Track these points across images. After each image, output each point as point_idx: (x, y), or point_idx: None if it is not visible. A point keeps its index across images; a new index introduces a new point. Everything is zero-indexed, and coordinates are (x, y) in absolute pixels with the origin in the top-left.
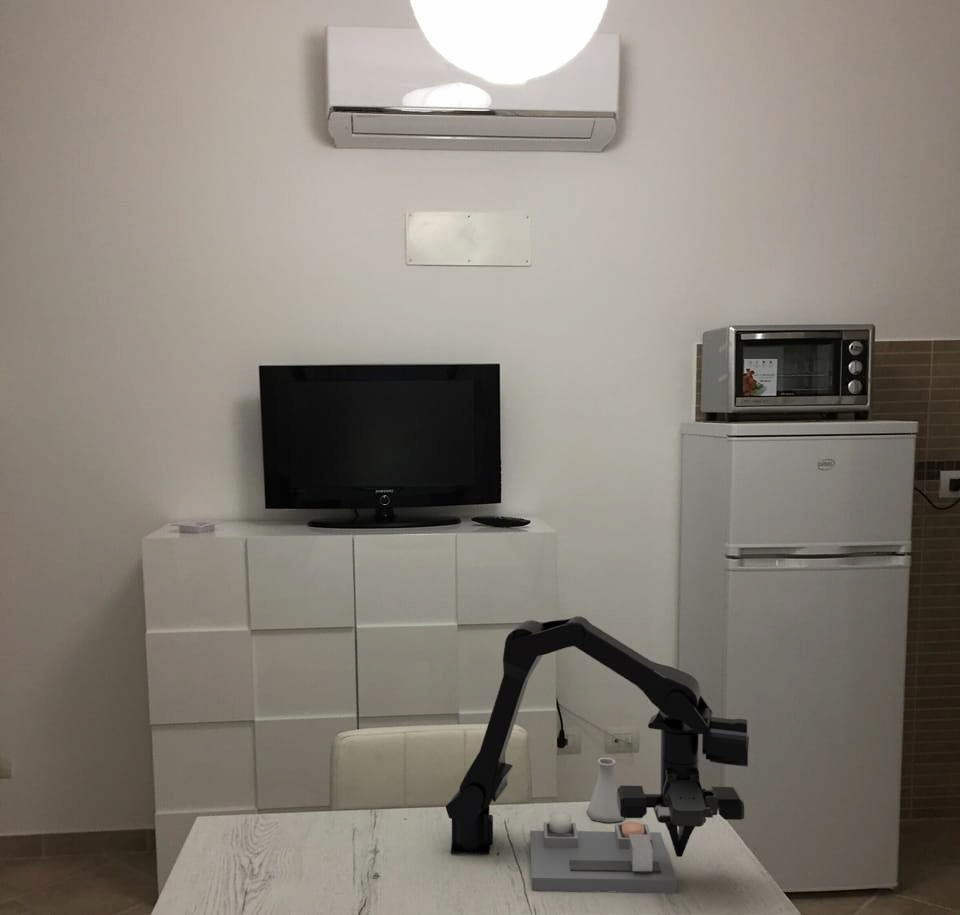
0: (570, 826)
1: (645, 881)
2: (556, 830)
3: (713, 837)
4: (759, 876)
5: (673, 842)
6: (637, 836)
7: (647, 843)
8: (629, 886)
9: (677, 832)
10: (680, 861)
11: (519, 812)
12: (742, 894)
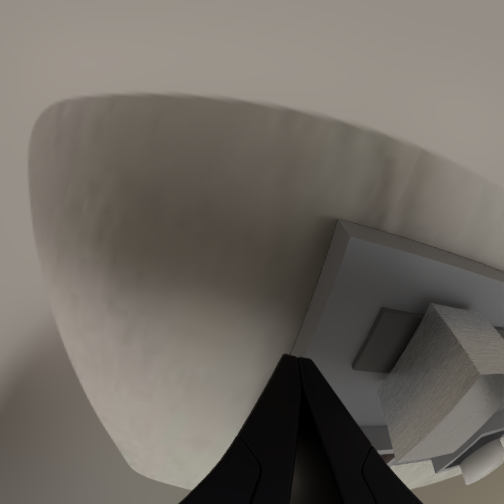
0: (478, 457)
1: (457, 265)
2: (500, 442)
3: (123, 418)
4: (41, 258)
5: (353, 422)
6: (442, 448)
7: (458, 413)
8: (483, 268)
9: (343, 489)
10: (232, 381)
11: (425, 478)
12: (96, 169)
